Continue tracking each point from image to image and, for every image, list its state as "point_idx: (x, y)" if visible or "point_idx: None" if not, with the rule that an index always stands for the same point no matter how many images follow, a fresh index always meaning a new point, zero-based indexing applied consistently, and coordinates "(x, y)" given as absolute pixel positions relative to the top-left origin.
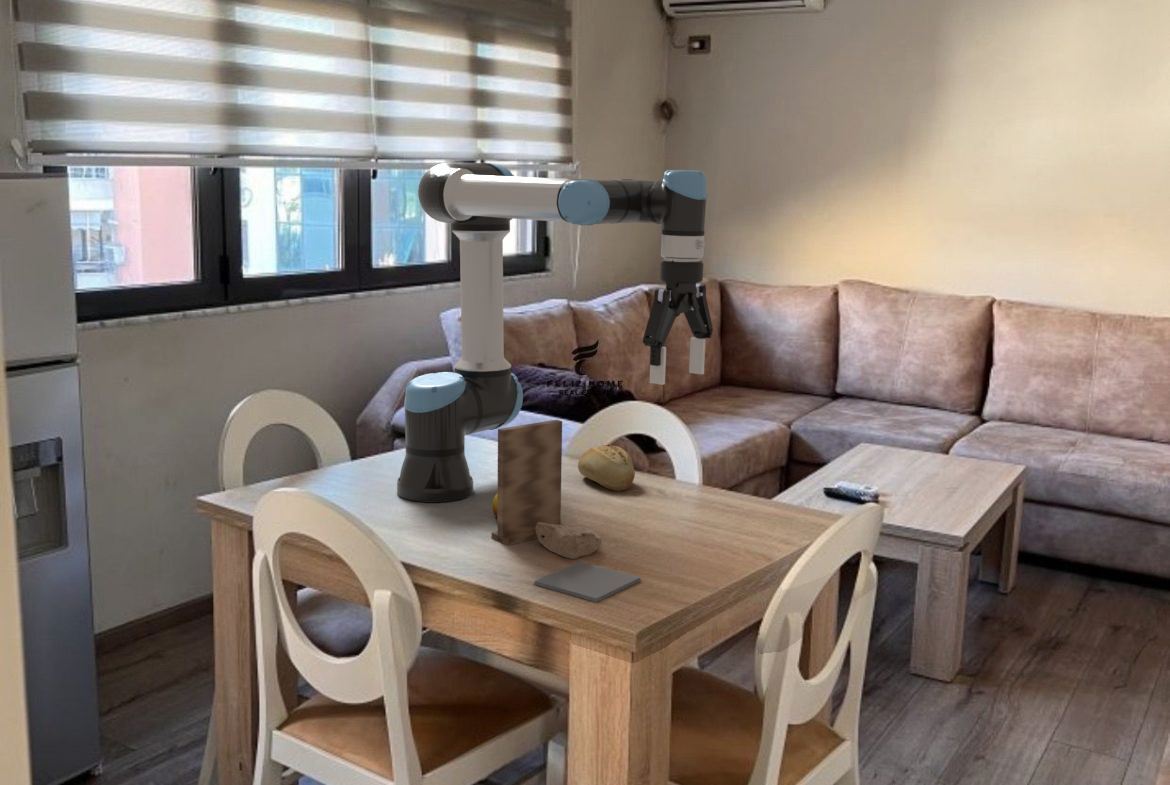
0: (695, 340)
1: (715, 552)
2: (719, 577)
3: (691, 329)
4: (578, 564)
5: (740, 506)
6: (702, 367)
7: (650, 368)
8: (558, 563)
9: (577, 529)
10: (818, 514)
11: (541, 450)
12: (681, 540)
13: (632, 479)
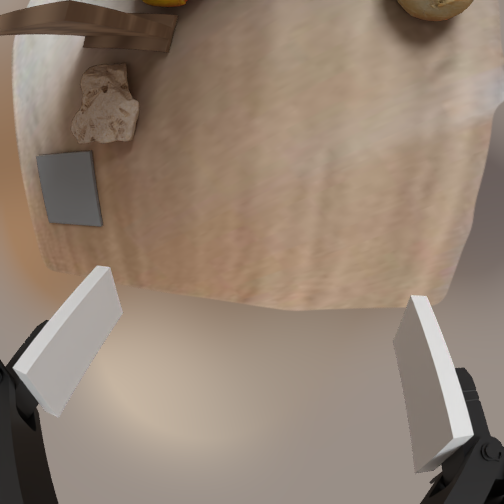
0: (434, 443)
1: (226, 248)
2: (163, 279)
3: (449, 491)
4: (82, 156)
5: (433, 200)
6: (399, 363)
7: (67, 301)
8: None
9: (108, 116)
10: (435, 290)
11: (61, 27)
12: (239, 195)
13: (431, 20)
